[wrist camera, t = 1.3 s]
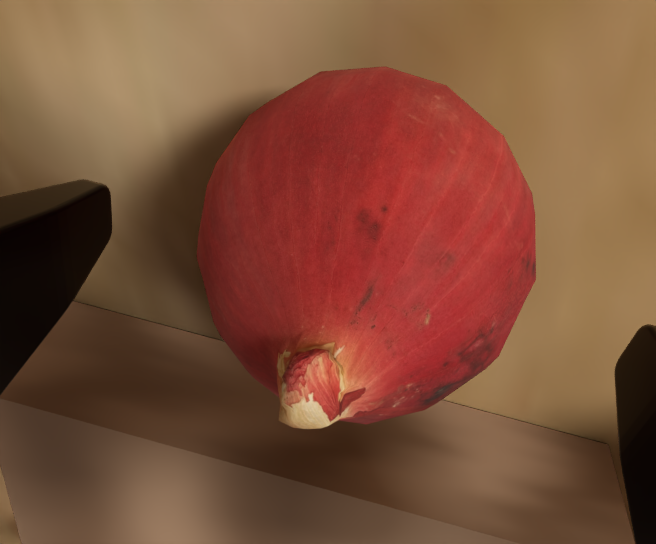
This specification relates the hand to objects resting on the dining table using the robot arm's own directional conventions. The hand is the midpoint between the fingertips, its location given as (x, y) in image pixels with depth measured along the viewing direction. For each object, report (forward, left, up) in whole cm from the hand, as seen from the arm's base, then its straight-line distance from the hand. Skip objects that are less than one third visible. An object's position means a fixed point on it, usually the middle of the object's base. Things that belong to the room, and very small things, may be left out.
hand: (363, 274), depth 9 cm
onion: (0, 0, -5) cm, 5 cm away
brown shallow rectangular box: (0, +13, -5) cm, 14 cm away
